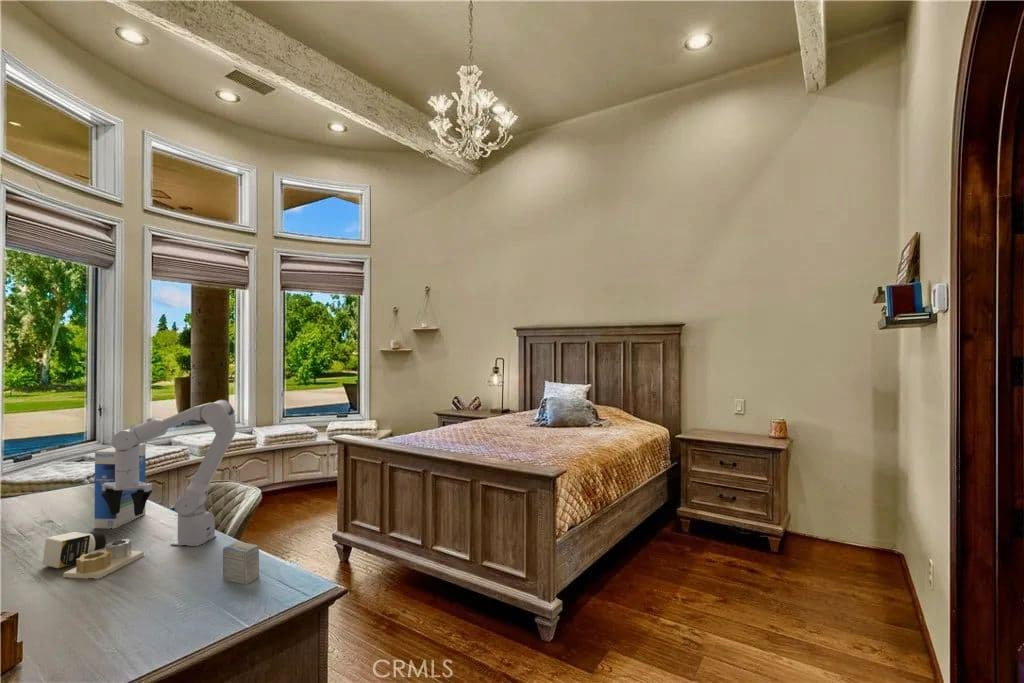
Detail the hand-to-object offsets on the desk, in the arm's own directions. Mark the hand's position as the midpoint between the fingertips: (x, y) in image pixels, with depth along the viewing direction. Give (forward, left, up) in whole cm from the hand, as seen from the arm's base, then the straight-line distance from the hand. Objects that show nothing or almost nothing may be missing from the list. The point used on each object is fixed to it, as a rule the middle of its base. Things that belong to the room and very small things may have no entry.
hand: (127, 514), depth 146 cm
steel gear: (-5, +8, -9) cm, 13 cm away
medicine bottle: (+8, +15, -6) cm, 18 cm away
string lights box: (+20, -19, -10) cm, 30 cm away
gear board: (-5, +12, -10) cm, 16 cm away
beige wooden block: (-47, +16, -10) cm, 51 cm away
